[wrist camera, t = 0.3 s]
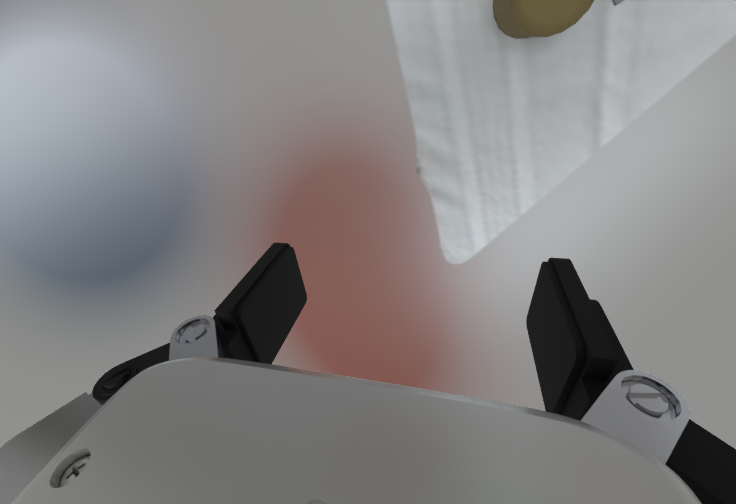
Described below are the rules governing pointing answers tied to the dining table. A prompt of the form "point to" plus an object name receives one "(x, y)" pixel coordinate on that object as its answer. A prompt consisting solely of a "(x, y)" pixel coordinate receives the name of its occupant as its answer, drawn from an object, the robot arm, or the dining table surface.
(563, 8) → the cork
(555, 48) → the dining table surface
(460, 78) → the dining table surface
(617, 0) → the rubber mat
